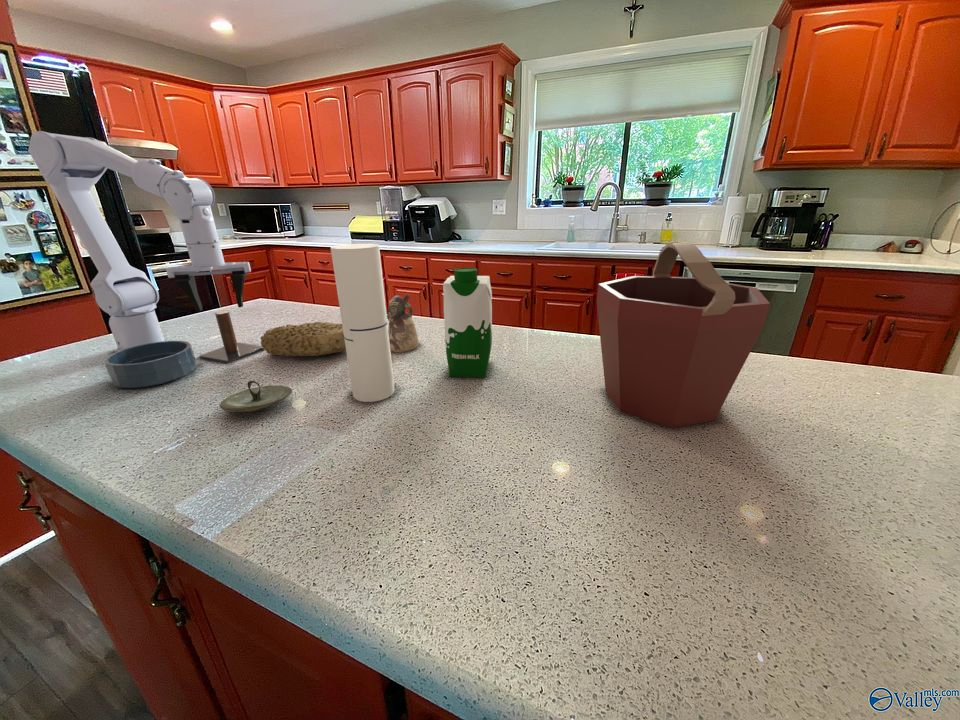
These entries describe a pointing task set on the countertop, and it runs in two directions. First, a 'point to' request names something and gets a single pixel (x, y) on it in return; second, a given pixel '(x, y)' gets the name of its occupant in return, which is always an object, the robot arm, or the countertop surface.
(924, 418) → the countertop surface
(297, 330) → the sponge
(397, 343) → the figurine
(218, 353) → the square mirror plate
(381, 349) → the cylindrical container
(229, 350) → the brown wooden peg
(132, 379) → the bowl
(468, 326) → the milk carton
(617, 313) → the bucket
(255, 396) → the lid
